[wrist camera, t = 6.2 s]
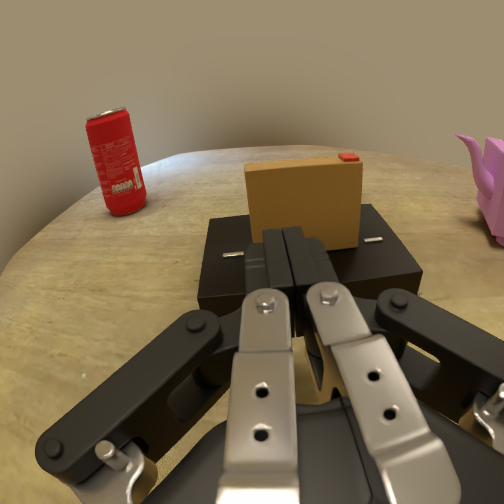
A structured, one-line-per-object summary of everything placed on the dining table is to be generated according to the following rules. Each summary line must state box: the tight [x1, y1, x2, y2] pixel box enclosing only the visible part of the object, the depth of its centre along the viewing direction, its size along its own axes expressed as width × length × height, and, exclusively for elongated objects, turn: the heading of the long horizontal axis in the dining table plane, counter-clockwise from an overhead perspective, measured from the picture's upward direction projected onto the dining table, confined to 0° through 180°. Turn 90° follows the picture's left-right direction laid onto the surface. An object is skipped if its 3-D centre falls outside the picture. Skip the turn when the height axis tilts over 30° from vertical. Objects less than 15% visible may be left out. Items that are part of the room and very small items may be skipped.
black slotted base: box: [197, 204, 423, 317], centre depth 22 cm, size 14×12×2 cm
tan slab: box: [244, 153, 363, 251], centre depth 19 cm, size 7×1×6 cm, turn 92°
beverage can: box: [86, 107, 146, 216], centre depth 33 cm, size 5×5×12 cm
